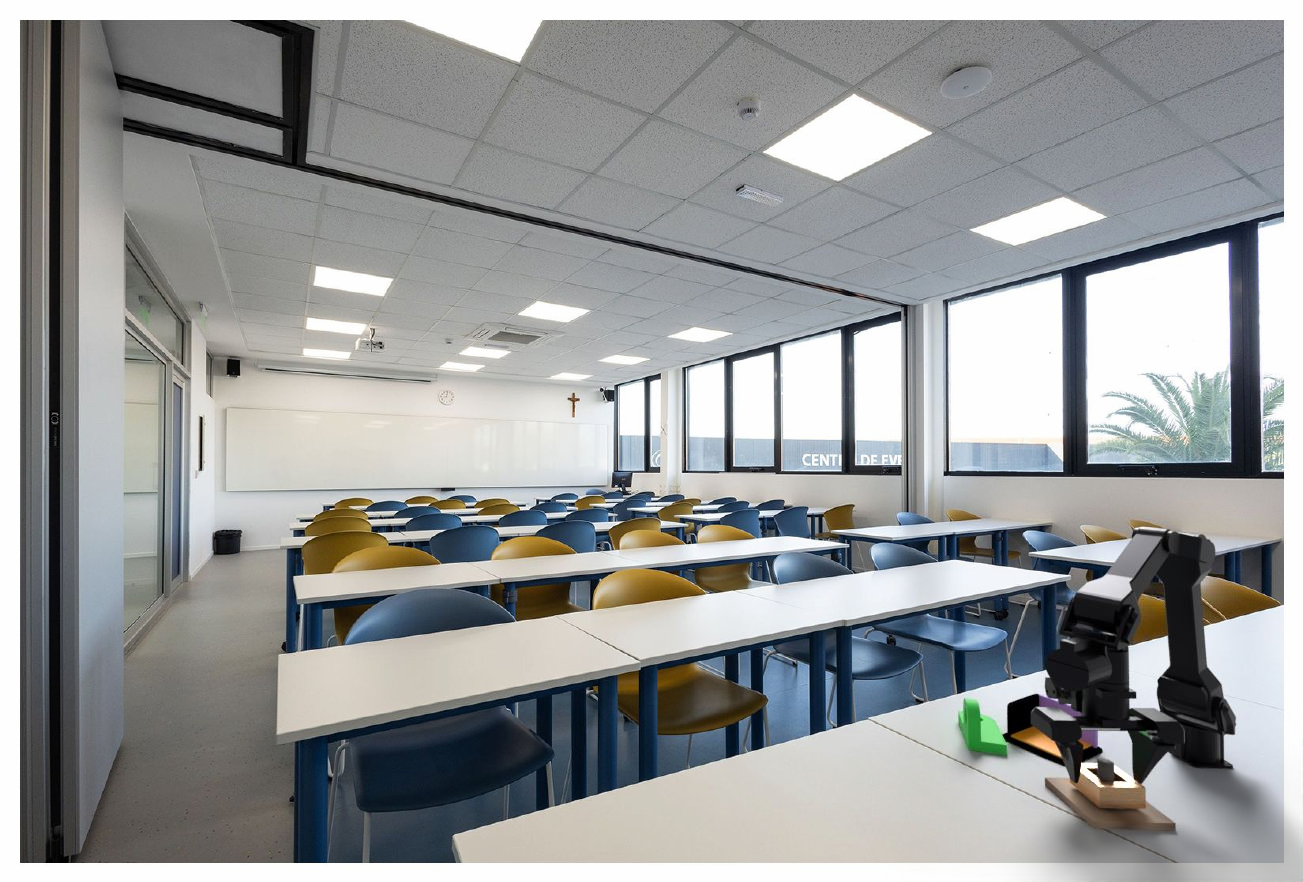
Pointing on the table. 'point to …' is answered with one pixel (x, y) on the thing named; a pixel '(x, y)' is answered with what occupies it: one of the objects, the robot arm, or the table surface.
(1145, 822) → the post stand
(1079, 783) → the wooden collar
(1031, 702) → the toy room diorama
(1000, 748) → the mechanical part
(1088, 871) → the table surface
